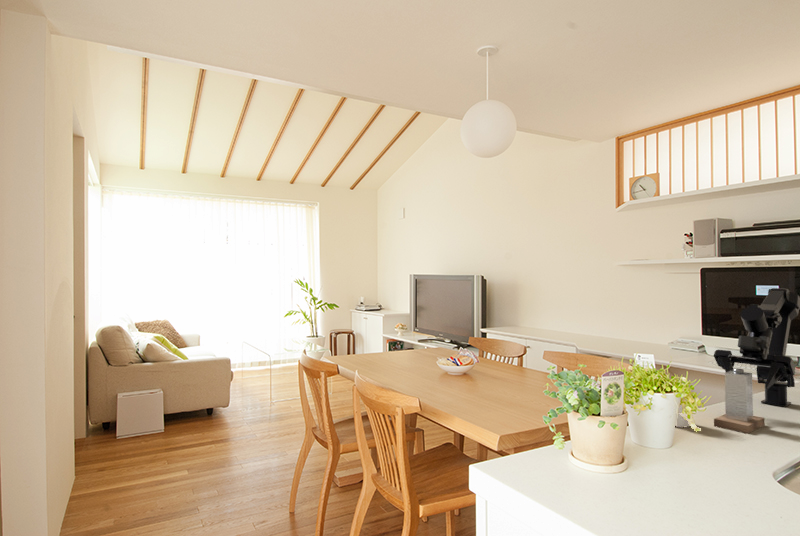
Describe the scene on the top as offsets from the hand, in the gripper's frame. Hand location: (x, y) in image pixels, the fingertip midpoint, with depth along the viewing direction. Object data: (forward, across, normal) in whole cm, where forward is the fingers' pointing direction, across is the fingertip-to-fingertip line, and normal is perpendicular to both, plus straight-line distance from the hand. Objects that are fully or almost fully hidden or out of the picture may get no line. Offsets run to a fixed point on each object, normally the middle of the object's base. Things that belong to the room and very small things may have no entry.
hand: (746, 385), depth 138 cm
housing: (+11, 0, 0) cm, 11 cm away
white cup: (+20, -12, -6) cm, 24 cm away
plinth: (+12, 0, +2) cm, 12 cm away
